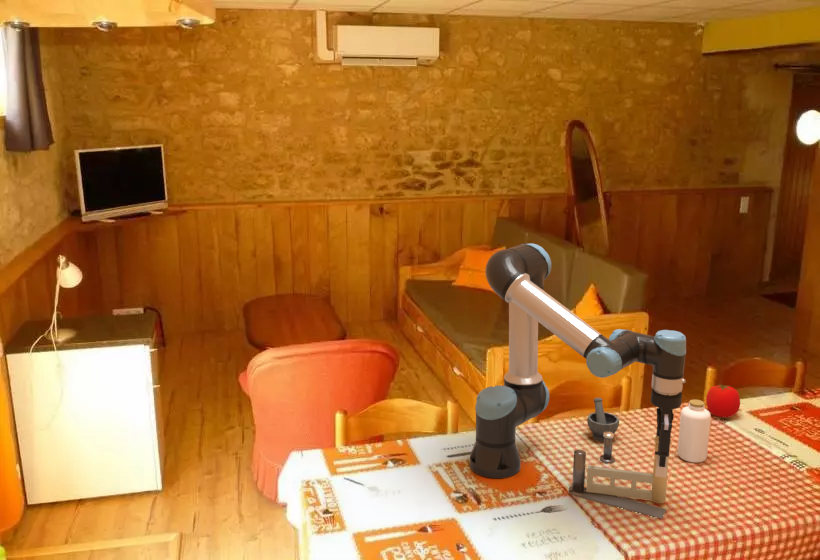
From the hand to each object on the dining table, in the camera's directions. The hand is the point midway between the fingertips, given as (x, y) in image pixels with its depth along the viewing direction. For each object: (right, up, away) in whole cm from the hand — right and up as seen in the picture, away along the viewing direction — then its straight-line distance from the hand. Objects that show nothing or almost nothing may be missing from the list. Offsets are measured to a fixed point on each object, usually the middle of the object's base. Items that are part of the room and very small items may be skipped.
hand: (660, 472), depth 190 cm
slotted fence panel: (-8, -8, +4) cm, 12 cm away
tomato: (+40, +5, +54) cm, 68 cm away
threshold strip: (-11, -9, +3) cm, 14 cm away
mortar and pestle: (-5, 0, +40) cm, 40 cm away
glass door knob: (-7, -3, +25) cm, 26 cm away
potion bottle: (+19, -3, +26) cm, 32 cm away
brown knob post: (-20, -8, +8) cm, 23 cm away
